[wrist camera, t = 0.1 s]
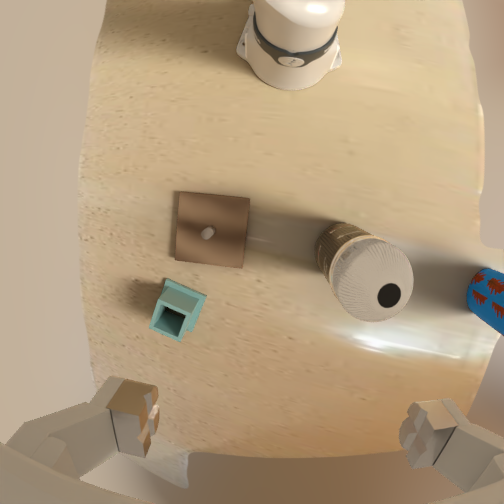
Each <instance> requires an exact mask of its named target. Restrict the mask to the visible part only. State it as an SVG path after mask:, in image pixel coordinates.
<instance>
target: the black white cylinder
mask: <svg viewBox="0 0 504 504" xmlns="http://www.w3.org/2000/svg"><path fill="white" fill-rule="evenodd" d="M315 258H316V262H317V264H318V266H319V268H320V269H321V271H322V273H323V274H324V276H325V278H326V279H327V281H328V282H329V284H330V286H331V289H332V291H333V293H334V295H335V296H336V298H337V299H338V300H339V301H340V303H341V304H342V306H343V307H344V309H345V310H346V311H347V312H348V313H349V314H350V315H352V316H353V317H355V318H357V319H360V320H363V321H368V322H379V321H384V320H387V319H389V318H391V317H393V316H395V315H396V314H397V313H399V312H400V310H402V308H404V306H405V305H406V304H407V302H408V300H409V298H410V296H411V293H412V289H413V282H414V279H413V271H412V267H411V264H410V262H409V260H408V259H407V257H406V256H405V254H404V253H403V252H402V251H401V250H400V249H398V248H397V247H395V246H394V245H392V244H390V243H389V242H387V241H386V240H384V239H382V238H380V237H377V236H374V235H372V234H370V233H368V232H366V231H364V230H362V229H360V228H358V227H356V226H354V225H351V224H347V223H340V224H335V225H332V226H330V227H329V228H327V229H326V230H325V231H323V233H322V234H321V235H320V236H319V238H318V240H317V243H316V246H315Z"/></svg>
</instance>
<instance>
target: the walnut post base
mask: <svg viewBox="0 0 504 504" xmlns="http://www.w3.org/2000/svg"><path fill="white" fill-rule="evenodd" d="M249 204H250V198H241V197H231V196H221V195H211V194H200V193H189V192H180V195H179V207H178V219H177V233H176V249H175V260H177V261H185V262H193V263H201V264H209V265H217V266H225V267H234V268H242V267H243V259H244V250H245V240H246V231H247V222H248V213H249Z"/></svg>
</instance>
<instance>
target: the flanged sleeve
mask: <svg viewBox="0 0 504 504" xmlns="http://www.w3.org/2000/svg"><path fill="white" fill-rule="evenodd" d="M206 296H207V295H204V294H202V293H200V292H198V291H195V290H193V289H191V288H188V287H186V286H184V285H182V284H179V283H177V282H175V281H173V280H171V279H168V278H167V279H166V282H165V284H164V287H163V290H162V293H161V296H160V297H159V299H158V301H157V304H156V307H155V310H154V313H153V316H152V319H151V322H150V325H149V328H150V329H152V330H154V331H156V332H159V333H161V334H163V335H165V336H167V337H170V338H172V339H174V340H176V341H179V342H181V340H182V338H183V336H184V334H185V332H186V330H188V331H190V332H192V331H193V328H194V326H195V323H196V321H197V318H198V316H199V313H200V311H201V309H202V306H203V304H204V301H205V299H206ZM167 307H168V308H171V309H173V310H175V311H177V312H180V313H182V314H184V315H186V317H185V319H184V318H182V317H180V316H177V315H175V314H173V313H171V312H169V311H166V308H167Z"/></svg>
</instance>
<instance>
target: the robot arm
mask: <svg viewBox="0 0 504 504" xmlns="http://www.w3.org/2000/svg"><path fill="white" fill-rule="evenodd" d="M252 1H253V4H251V5H250V7H249V10H248V15H249V18H248V20H247V22H246V25H245V27H244V30H243V32H242V35H241V37H240V40H239V42H238V45H237V48H236V52H237V54H238V55H239V56H240V57H241V58H243V59H244V60H246V61H247V62H248V63H249V64H250V66H251V67H252V69H253V71H254V72H255V73H256V75H257V76H258V77H259V78H260V79H261V80H263V81H264V82H265V83H267V84H269V85H271V86H273V87H276V88H279V89H283V90H301V89H305V88H308V87H310V86H312V85H314V84H316V83H317V82H318V81H319V80H321V79H322V77H323V76H324V75H325V74H326V73H328V72H330V71H333V70H335V69H337V68H339V67H340V66H341V64H342V58H341V52H340V47H339V41H338V36H337V29H338V23H339V21H340V19H341V17H342V14H343V12H344V9H345V0H252ZM243 44H245V46H243ZM157 399H158V388H157V387H156V386H155V385H150V384H146V383H142V382H137V381H133V380H129V379H125V378H121V377H117V376H113V375H112V376H110V377H108V379H107V380H106V381H105V383H104V384H103V385H102V387H101V388H100V389H99V391H98V392H97V393H96V395H95V396H94V397H93V399H92V400H91V401H90V403H87V402H84V403H82V404H78V405H75V406H73V407H70V408H67V409H64V410H61V411H58V412H55V413H52V414H50V415H46V416H43V417H40V418H37V419H34V420H31V421H28V422H25V423H24V424H23V425H22V426H21V427H20V428H19V429H18V431H17V432H16V433H15V434H14V435H13V436H12V437H11V439H10V440H9V441H8V442H7V443H6V444H5V445H4V444H3V443H1V442H0V504H155V503H151V502H147V501H143V500H139V499H136V498H132V497H129V496H125V495H121V494H118V493H115V492H112V491H109V490H106V489H102V488H100V487H97V486H94V485H91V484H88V483H86V482H83V481H81V480H80V479H79V477H81V476H83V475H84V474H86V473H88V472H89V471H91V470H93V469H94V468H96V467H97V466H99V465H101V464H102V463H104V462H106V461H107V460H109V459H110V458H112V457H114V456H115V455H116V454H118V453H119V452H122V453H126V454H130V455H134V456H138V457H142V458H145V457H146V455H147V452H148V450H149V447H150V445H151V439H150V437H151V436H153V435H154V434H155V433H156V430H157V427H158V423H159V406H158V405H157V404H156V401H157ZM407 413H408V415H409V417H408V418H407V419H405V420H404V421H403V422H402V425H401V427H400V431H399V440H400V444H401V446H402V447H403V448H404V449H406V450H407V451H408V453H407V455H406V457H407V459H408V461H409V463H410V466H411V468H412V469H415V468H422V467H429V466H433V467H434V468H435V469H436V470H437V471H439V472H440V473H441V474H442V475H443V476H445V477H446V478H447V479H449V480H450V481H451V482H452V483H454V484H455V485H456V486H457V487H459V488H460V489H461V490H463V491H464V492H465V493H463V494H460V495H457V496H453V497H450V498H447V499H443V500H439V501H435V502H431V503H428V504H504V438H503V437H501V436H499V435H497V434H495V433H493V432H491V431H489V430H487V429H484V428H482V427H480V426H478V425H476V424H471V423H470V422H469V421H468V420H467V418H466V417H465V415H464V414H463V413H462V412H461V410H460V409H459V408H458V406H457V405H456V404H455V402H454V401H453V400H452V399H450V398H446V399H439V400H434V401H423V402H413V403H412V404H411V405H410V407H409V409H408V411H407Z"/></svg>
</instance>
